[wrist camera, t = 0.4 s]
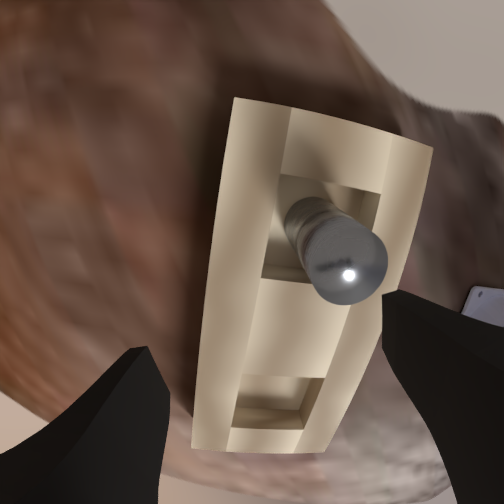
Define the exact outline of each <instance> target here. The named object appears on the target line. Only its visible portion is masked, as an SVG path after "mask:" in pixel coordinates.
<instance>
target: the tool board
mask: <svg viewBox="0 0 504 504" xmlns="http://www.w3.org/2000/svg"><path fill="white" fill-rule="evenodd" d="M432 152H433V148H432V147H430V146H427V145H424V144H421V143H419V142H416V141H413V140H410V139H407V138H404V137H401V136H398V135H395V134H392V133H389V132H386V131H382V130H379V129H376V128H372V127H369V126H366V125H362V124H359V123H355V122H351V121H348V120H344V119H340V118H336V117H332V116H328V115H324V114H320V113H316V112H311V111H307V110H302V109H298V108H293V107H288V106H283V105H278V104H272V103H267V102H261V101H255V100H249V99H243V98H236V97H234V102H233V108H232V114H231V120H230V125H229V131H228V137H227V144H226V150H225V156H224V162H223V169H222V175H221V182H220V189H219V195H218V202H217V209H216V216H215V224H214V231H213V238H212V246H211V254H210V261H209V269H208V277H207V286H206V294H205V303H204V312H203V321H202V330H201V339H200V349H199V359H198V370H197V380H196V392H195V403H194V416H193V429H192V442H191V448H194V449H204V450H214V451H227V452H244V453H316V452H324V451H325V450H326V448H327V446H328V444H329V442H330V440H331V439H332V437H333V435H334V433H335V431H336V429H337V427H338V426H339V424H340V422H341V420H342V418H343V416H344V414H345V412H346V410H347V408H348V406H349V404H350V402H351V400H352V398H353V395H354V393H355V391H356V389H357V387H358V385H359V383H360V380H361V378H362V376H363V374H364V372H365V369H366V367H367V365H368V362H369V360H370V358H371V355H372V353H373V351H374V348H375V346H376V343H377V341H378V338H379V336H380V333H381V331H382V294H385V293H389V292H392V291H396V290H397V287H398V284H399V281H400V278H401V275H402V272H403V269H404V265H405V262H406V259H407V256H408V252H409V249H410V246H411V242H412V239H413V235H414V231H415V228H416V224H417V220H418V216H419V212H420V208H421V204H422V200H423V196H424V191H425V187H426V182H427V178H428V173H429V168H430V163H431V158H432ZM306 197H320V198H323V199H325V200H327V201H329V202H330V203H332V204H333V205H335V206H336V207H337V208H339V209H340V210H342V211H343V212H345V213H346V214H348V215H349V216H351V217H352V218H353V219H355V220H356V221H358V222H359V223H361V224H362V225H363V226H365V227H366V228H368V229H369V230H370V231H372V232H373V233H375V234H376V235H377V236H378V237H379V238H380V239H381V240H382V242H383V243H384V245H385V247H386V250H387V254H388V268H387V272H386V275H385V278H384V280H383V282H382V283H381V285H380V286H379V288H378V289H377V290H376V291H375V292H374V293H373V294H372V295H371V296H369V297H368V298H366V299H365V300H363V301H361V302H359V303H356V304H352V305H336V304H332V303H330V302H328V301H326V300H324V299H323V298H322V297H321V296H320V295H319V294H318V293H317V291H316V290H315V288H314V286H313V284H312V283H311V281H310V279H309V277H308V275H307V273H306V272H305V270H304V268H303V266H302V264H301V262H300V261H299V259H298V257H297V255H296V253H295V251H294V250H293V248H292V246H291V244H290V242H289V241H288V239H287V237H286V234H285V231H284V221H285V217H286V214H287V212H288V210H289V209H290V208H291V206H292V205H293V204H294V203H296V202H297V201H299V200H301V199H303V198H306Z"/></svg>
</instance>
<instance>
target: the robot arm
mask: <svg viewBox="0 0 504 504" xmlns="http://www.w3.org/2000/svg"><path fill="white" fill-rule="evenodd" d="M479 292H480V293H479ZM382 349H383V351H384V353H385V355H386V357H387V360H388V362H389V364H390V366H391V368H392V370H393V372H394V374H395V376H396V377H397V379H398V380H399V382H400V383H401V385H402V387H403V388H404V390H405V391H406V393H407V394H408V396H409V398H410V399H411V401H412V402H413V404H414V405H415V407H416V409H417V410H418V412H419V413H420V415H421V416H422V418H423V420H424V421H425V423H426V425H427V427H428V428H429V430H430V432H431V434H432V436H433V439H434V441H435V443H436V445H437V448H438V450H439V452H440V455H441V457H442V460H443V462H444V465H445V468H446V470H447V473H448V476H449V478H450V481H451V484H452V487H453V491H454V494H455V497H456V500H457V504H504V289H497V288H489V287H481V286H474V287H473V288H472V289H471V291H470V293H469V296H468V298H467V301H466V303H465V306H464V308H463V311H462V313H461V314H460V313H458V312H455V311H453V310H450V309H448V308H445V307H443V306H440V305H438V304H435V303H433V302H431V301H428V300H426V299H423V298H421V297H419V296H416V295H414V294H411V293H408V292H406V291H403V290H396V291H392V292H389V293H385V294H382ZM169 416H170V392H169V390H168V388H167V386H166V384H165V382H164V380H163V378H162V376H161V374H160V372H159V370H158V368H157V366H156V363H155V361H154V359H153V357H152V355H151V353H150V351H149V348H148V346H143V347H136V348H130V349H129V350H128V351H126V352H125V353H124V354H123V355H122V356H121V357H120V358H119V359H118V360H117V361H116V362H115V363H114V364H113V365H112V366H111V367H110V368H109V369H108V370H107V371H106V372H105V373H104V374H103V375H102V376H101V377H100V378H99V379H98V380H97V381H96V382H95V383H94V384H93V385H92V386H91V387H90V388H89V389H88V390H87V391H86V392H85V393H83V394H82V395H81V396H80V397H79V398H78V399H77V400H76V401H75V402H74V403H73V404H72V405H71V406H70V407H69V408H67V409H66V410H65V411H64V412H63V413H62V414H61V415H59V416H58V417H57V418H56V419H54V420H53V421H52V422H50V423H49V424H48V425H47V426H45V427H44V428H43V429H41V430H40V431H38V432H37V433H35V434H34V435H32V436H31V437H29V438H28V439H26V440H24V441H23V442H21V443H20V444H18V445H17V446H15V447H13V448H12V449H9V450H7V451H6V452H4V453H2V454H0V504H158V486H159V478H160V472H161V466H162V460H163V454H164V448H165V443H166V437H167V431H168V425H169Z"/></svg>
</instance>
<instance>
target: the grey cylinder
mask: <svg viewBox="0 0 504 504" xmlns="http://www.w3.org/2000/svg"><path fill="white" fill-rule="evenodd" d="M284 231H285V234H286V237H287V239H288V241H289V242H290V244H291V246H292V248H293V250H294V251H295V253H296V255H297V257H298V259H299V261H300V262H301V264H302V266H303V268H304V270H305V272H306V273H307V275H308V277H309V279H310V281H311V283H312V284H313V286H314V288H315V290H316V291H317V293H318V294H319V295H320V296H321V297H322V298H323V299H324V300H326V301H328V302H330V303H332V304H336V305H352V304H356V303H359V302H361V301H363V300H365V299H366V298H368V297H369V296H371V295H372V294H373V293H374V292H375V291H376V290H377V289H378V288H379V286H380V285H381V283H382V282H383V280H384V278H385V275H386V272H387V268H388V254H387V250H386V247H385V245H384V243H383V242H382V240H381V239H380V238H379V237H378V236H377V235H376V234H375V233H373V232H372V231H370V230H369V229H368V228H366V227H365V226H363V225H362V224H361V223H359V222H358V221H356V220H355V219H353V218H352V217H351V216H349V215H348V214H346V213H345V212H343V211H342V210H340V209H339V208H337V207H336V206H335V205H333V204H332V203H330V202H329V201H327V200H325V199H323V198H320V197H306V198H303V199H301V200H299V201H297V202H296V203H294V204H293V205H292V206H291V208H290V209H289V210H288V212H287V214H286V217H285V221H284Z"/></svg>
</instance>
